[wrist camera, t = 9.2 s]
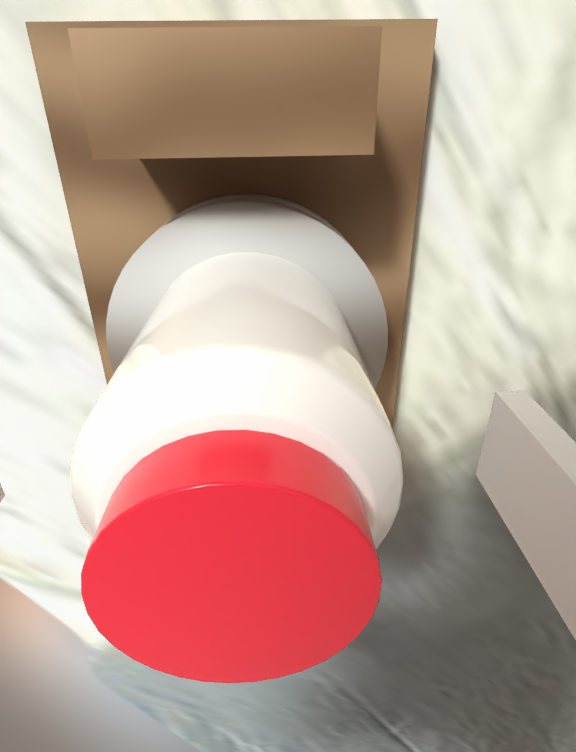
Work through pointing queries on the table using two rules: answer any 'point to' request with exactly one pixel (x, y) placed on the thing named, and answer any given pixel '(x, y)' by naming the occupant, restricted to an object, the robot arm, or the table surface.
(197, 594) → the pill bottle
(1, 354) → the table surface
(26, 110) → the table surface
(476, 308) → the table surface
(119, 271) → the cardboard packaging tray
